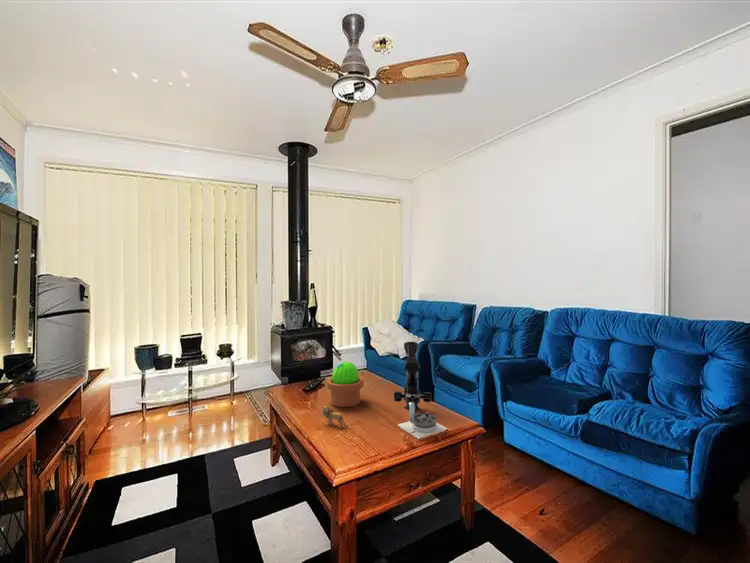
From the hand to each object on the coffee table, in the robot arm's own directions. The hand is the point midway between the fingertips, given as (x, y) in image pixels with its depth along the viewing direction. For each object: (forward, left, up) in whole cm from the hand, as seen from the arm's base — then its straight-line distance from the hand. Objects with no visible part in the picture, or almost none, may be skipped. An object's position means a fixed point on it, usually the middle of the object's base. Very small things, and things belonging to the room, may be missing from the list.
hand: (412, 413), depth 171 cm
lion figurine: (-28, -30, -9) cm, 42 cm away
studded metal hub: (0, +5, -6) cm, 8 cm away
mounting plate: (-1, +6, -9) cm, 11 cm away
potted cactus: (-54, -11, -9) cm, 56 cm away
